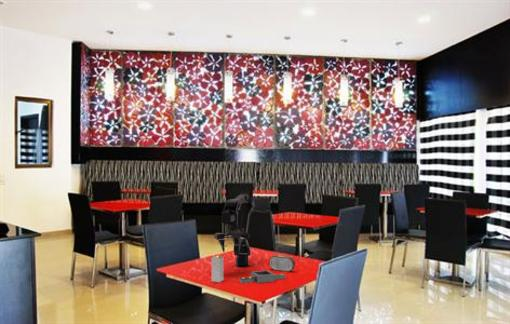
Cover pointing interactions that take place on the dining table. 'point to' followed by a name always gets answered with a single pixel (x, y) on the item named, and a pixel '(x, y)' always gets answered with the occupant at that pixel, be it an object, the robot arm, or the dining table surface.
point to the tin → (282, 263)
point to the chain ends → (262, 277)
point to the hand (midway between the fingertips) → (231, 251)
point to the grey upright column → (217, 268)
